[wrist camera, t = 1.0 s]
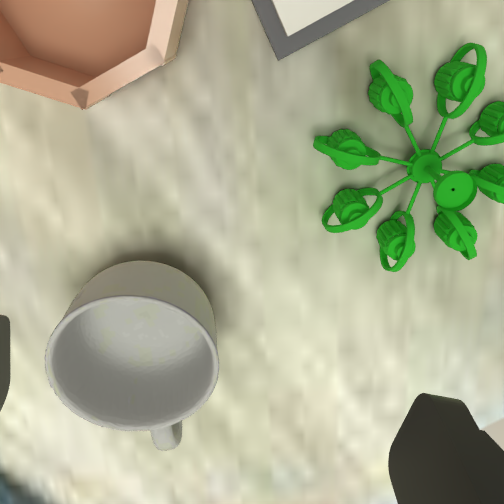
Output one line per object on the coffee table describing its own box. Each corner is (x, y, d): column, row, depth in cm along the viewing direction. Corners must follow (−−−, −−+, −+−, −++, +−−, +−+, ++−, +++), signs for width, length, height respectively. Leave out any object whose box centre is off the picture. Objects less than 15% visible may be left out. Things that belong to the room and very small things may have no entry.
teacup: (71, 243, 34) (26, 302, 27) (220, 240, 34) (214, 299, 27) (100, 388, 40) (70, 468, 33) (226, 385, 40) (223, 465, 33)
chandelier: (264, 125, 31) (270, 151, 24) (481, -15, 27) (552, -25, 21) (364, 288, 37) (390, 343, 30) (553, 190, 33) (625, 229, 27)
